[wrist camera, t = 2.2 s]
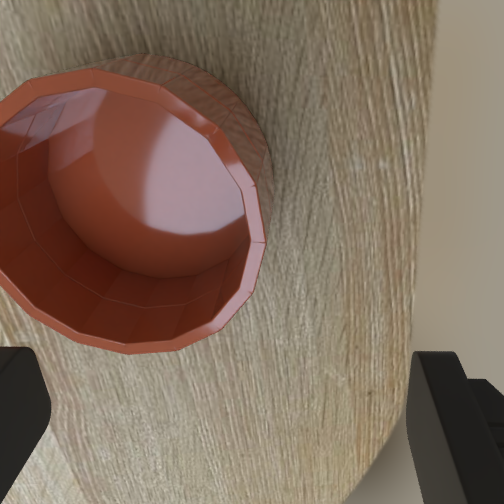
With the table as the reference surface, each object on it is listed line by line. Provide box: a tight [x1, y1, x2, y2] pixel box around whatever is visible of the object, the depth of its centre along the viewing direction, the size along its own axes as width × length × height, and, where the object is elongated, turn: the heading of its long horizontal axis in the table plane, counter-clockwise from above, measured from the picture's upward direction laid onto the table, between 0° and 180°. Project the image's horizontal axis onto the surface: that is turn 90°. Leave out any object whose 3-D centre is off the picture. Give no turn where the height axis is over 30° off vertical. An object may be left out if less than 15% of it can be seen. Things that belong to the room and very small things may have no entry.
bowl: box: [0, 53, 275, 355], centre depth 20 cm, size 11×11×6 cm
